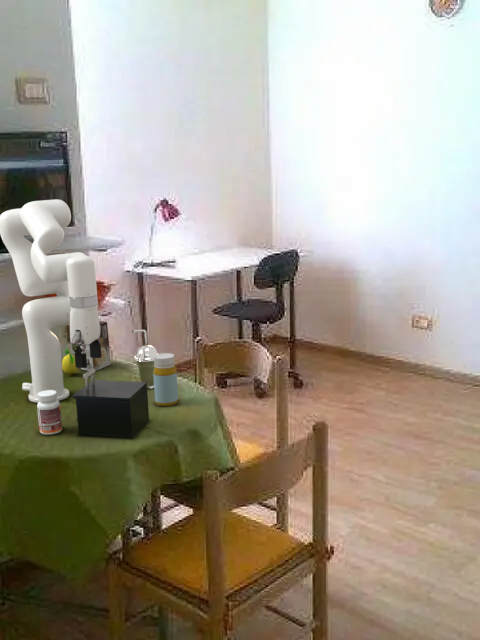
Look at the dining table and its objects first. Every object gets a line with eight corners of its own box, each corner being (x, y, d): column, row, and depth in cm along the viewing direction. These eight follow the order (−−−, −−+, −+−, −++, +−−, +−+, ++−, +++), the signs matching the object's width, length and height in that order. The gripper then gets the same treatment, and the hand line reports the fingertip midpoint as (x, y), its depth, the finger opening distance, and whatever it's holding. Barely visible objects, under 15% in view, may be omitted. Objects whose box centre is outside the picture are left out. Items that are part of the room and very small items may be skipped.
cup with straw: (164, 388, 250) (161, 328, 246) (137, 392, 247) (133, 331, 243) (158, 381, 258) (154, 322, 253) (131, 384, 255) (127, 325, 250)
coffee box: (97, 362, 281) (94, 319, 277) (111, 365, 278) (108, 321, 274) (80, 369, 274) (76, 325, 270) (93, 372, 270) (90, 327, 266)
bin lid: (72, 398, 211) (71, 378, 210) (93, 382, 224) (91, 363, 223) (129, 401, 207) (128, 381, 206) (147, 384, 220) (145, 366, 219)
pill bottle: (66, 430, 217) (63, 392, 214) (47, 437, 213) (43, 398, 210) (54, 425, 221) (51, 387, 219) (35, 431, 217) (31, 393, 215)
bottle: (174, 407, 233) (171, 359, 229) (152, 406, 234) (149, 358, 231) (180, 399, 240) (178, 352, 236) (159, 398, 241) (156, 352, 237)
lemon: (66, 372, 271) (64, 344, 269) (82, 372, 270) (80, 345, 268) (58, 378, 265) (56, 349, 262) (74, 378, 264) (72, 350, 261)
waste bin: (78, 435, 213) (75, 398, 211) (98, 418, 226) (95, 382, 224) (132, 439, 210) (129, 401, 207) (149, 420, 223) (147, 385, 220)
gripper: (84, 295, 220) (89, 353, 224) (56, 308, 204) (62, 371, 208) (108, 295, 218) (113, 354, 222) (83, 308, 202) (88, 372, 206)
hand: (88, 362), depth 215 cm, fingers open, 9 cm apart
